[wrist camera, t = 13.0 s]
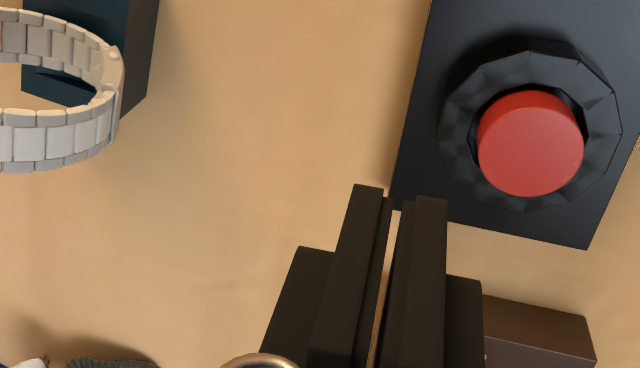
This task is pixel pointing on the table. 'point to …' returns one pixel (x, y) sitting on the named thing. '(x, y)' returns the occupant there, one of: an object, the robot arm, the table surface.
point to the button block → (513, 75)
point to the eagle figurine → (84, 363)
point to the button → (529, 143)
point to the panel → (528, 337)
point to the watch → (73, 76)
